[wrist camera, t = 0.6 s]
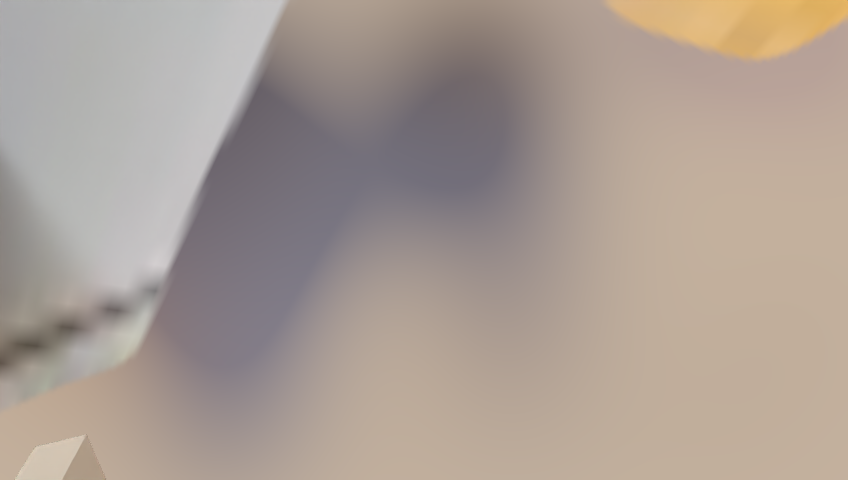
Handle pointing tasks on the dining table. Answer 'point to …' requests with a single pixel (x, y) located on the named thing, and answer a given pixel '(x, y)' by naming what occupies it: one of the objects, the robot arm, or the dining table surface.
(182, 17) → the dining table surface
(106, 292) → the dining table surface
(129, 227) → the dining table surface
